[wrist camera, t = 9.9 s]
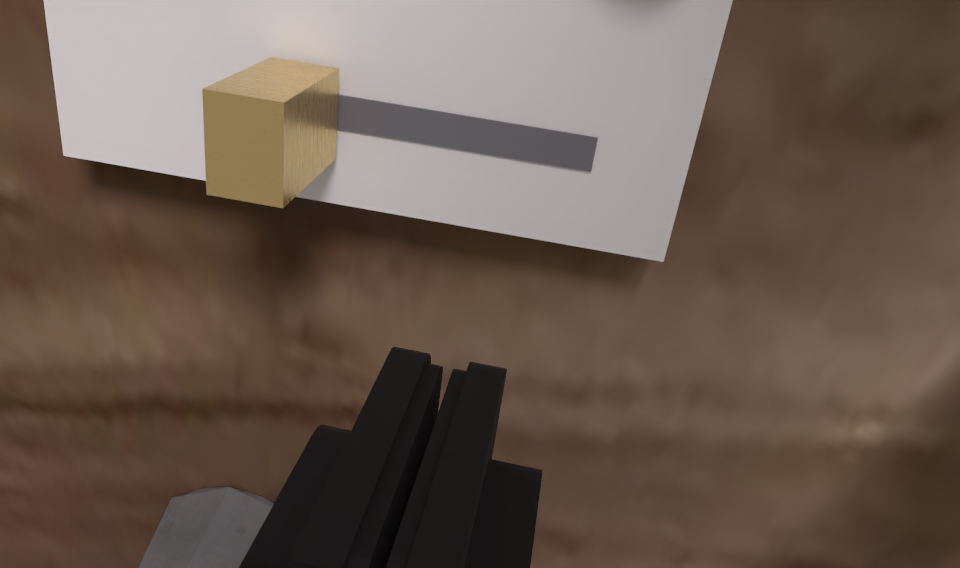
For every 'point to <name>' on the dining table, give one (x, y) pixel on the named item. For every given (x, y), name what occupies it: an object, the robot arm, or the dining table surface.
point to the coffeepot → (207, 529)
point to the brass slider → (269, 130)
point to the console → (422, 102)
